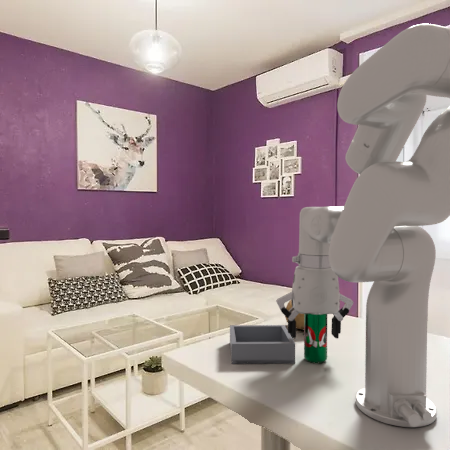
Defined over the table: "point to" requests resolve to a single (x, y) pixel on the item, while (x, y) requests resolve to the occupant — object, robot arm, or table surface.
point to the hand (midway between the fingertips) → (313, 336)
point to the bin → (261, 344)
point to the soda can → (315, 337)
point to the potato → (298, 318)
